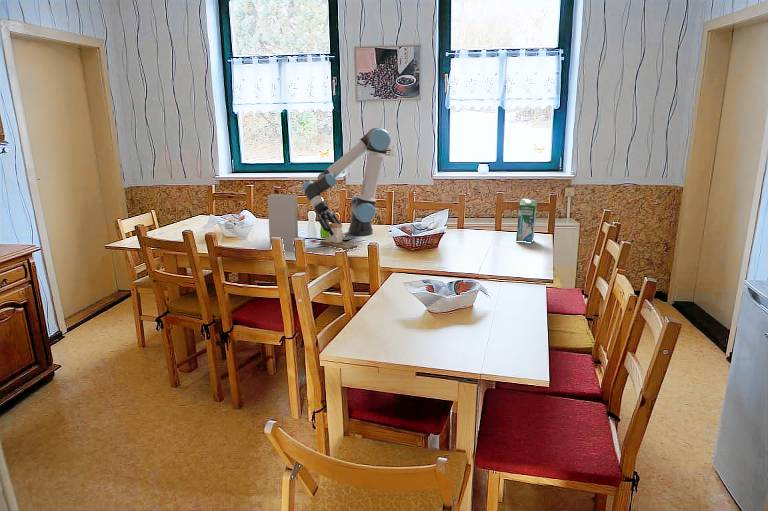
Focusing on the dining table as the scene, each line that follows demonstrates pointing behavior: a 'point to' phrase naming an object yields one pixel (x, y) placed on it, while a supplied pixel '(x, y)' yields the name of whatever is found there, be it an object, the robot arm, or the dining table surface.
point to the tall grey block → (283, 219)
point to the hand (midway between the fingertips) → (340, 238)
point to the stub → (336, 232)
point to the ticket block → (338, 244)
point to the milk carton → (526, 220)
